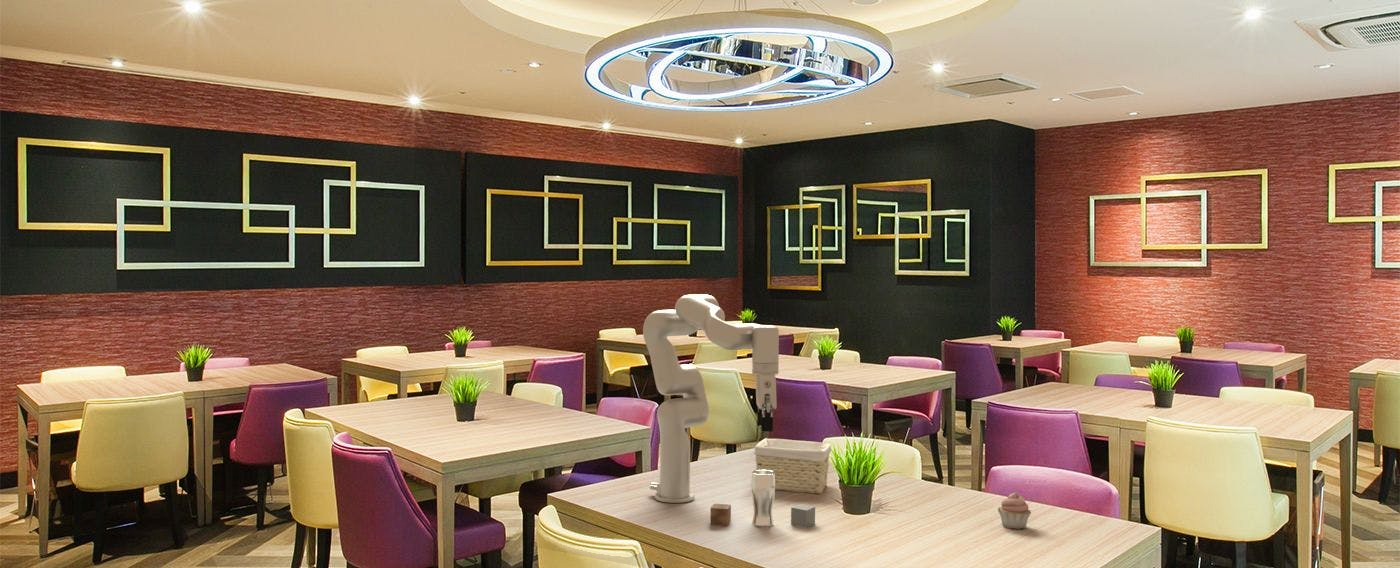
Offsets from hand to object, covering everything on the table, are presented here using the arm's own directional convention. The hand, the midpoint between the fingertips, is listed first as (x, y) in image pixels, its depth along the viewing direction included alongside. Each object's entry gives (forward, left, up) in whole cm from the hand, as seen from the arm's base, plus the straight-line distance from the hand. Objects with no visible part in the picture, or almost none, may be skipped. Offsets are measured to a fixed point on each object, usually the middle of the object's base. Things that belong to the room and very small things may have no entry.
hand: (764, 428), depth 261 cm
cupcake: (+64, +34, -28) cm, 77 cm away
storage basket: (-9, +46, -28) cm, 55 cm away
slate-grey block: (+10, +6, -28) cm, 30 cm away
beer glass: (0, 0, -28) cm, 28 cm away
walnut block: (-11, -5, -28) cm, 30 cm away
